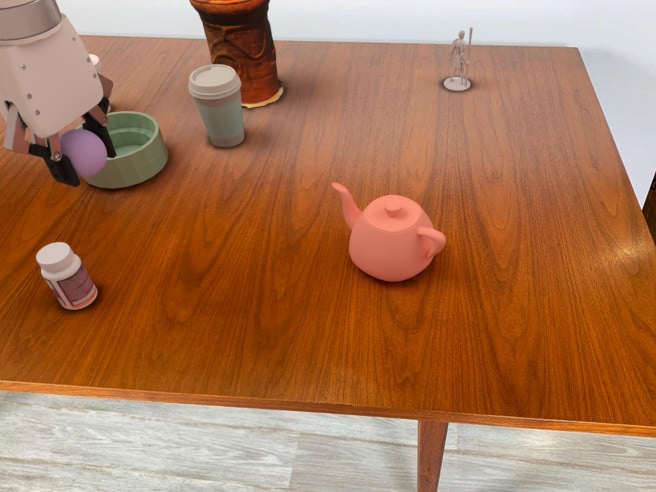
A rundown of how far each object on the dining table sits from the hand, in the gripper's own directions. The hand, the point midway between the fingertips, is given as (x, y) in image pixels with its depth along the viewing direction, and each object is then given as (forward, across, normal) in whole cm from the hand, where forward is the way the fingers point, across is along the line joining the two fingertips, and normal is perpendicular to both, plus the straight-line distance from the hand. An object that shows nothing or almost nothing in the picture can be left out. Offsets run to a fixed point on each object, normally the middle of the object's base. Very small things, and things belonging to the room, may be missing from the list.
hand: (87, 167), depth 69 cm
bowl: (+17, -19, -17) cm, 31 cm away
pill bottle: (+17, +7, -3) cm, 19 cm away
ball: (-2, 0, 0) cm, 2 cm away
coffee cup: (+17, -33, -6) cm, 37 cm away
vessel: (+17, -48, -11) cm, 52 cm away
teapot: (+17, -16, +32) cm, 40 cm away
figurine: (+17, -66, +26) cm, 73 cm away
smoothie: (+17, -31, -34) cm, 49 cm away
